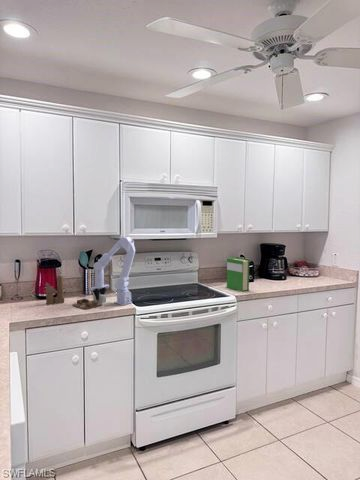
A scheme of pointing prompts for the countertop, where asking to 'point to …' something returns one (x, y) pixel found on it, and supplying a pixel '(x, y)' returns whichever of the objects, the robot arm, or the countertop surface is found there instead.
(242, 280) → the hardback book
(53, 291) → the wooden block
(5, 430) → the countertop surface
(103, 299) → the light gray block
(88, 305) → the rack
